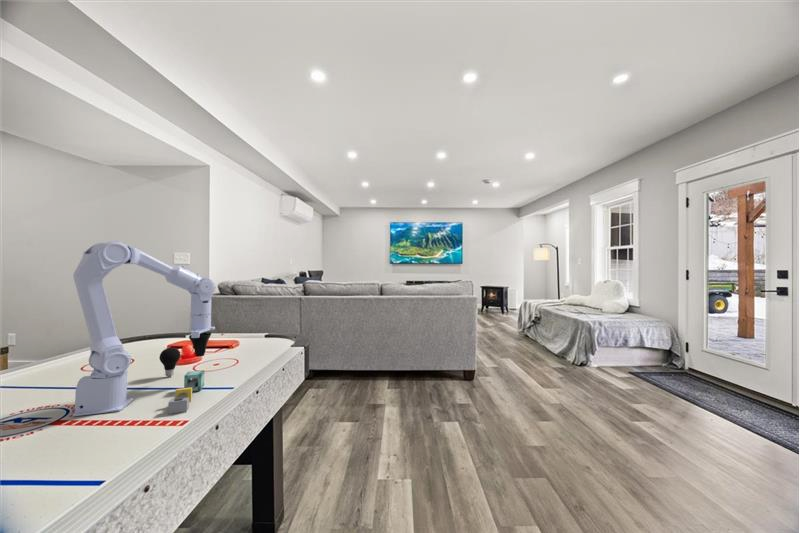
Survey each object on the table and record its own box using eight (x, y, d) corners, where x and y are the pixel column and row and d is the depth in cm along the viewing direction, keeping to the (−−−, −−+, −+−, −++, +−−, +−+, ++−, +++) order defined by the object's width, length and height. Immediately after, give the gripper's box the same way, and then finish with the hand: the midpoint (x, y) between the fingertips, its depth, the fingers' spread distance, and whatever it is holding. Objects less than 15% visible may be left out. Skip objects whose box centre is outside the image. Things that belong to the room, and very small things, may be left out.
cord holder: (186, 411, 81) (187, 395, 81) (168, 414, 79) (168, 397, 79) (204, 385, 100) (204, 371, 100) (189, 386, 99) (190, 372, 99)
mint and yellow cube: (184, 391, 93) (184, 375, 93) (187, 387, 97) (188, 371, 97) (201, 390, 95) (201, 374, 95) (204, 385, 99) (204, 370, 99)
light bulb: (184, 374, 110) (184, 346, 111) (170, 380, 105) (171, 350, 105) (168, 373, 111) (169, 345, 111) (154, 379, 105) (155, 349, 105)
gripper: (210, 316, 97) (209, 360, 97) (218, 311, 111) (218, 349, 110) (183, 317, 95) (182, 362, 94) (195, 312, 108) (194, 351, 108)
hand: (200, 355), depth 102 cm, fingers closed
